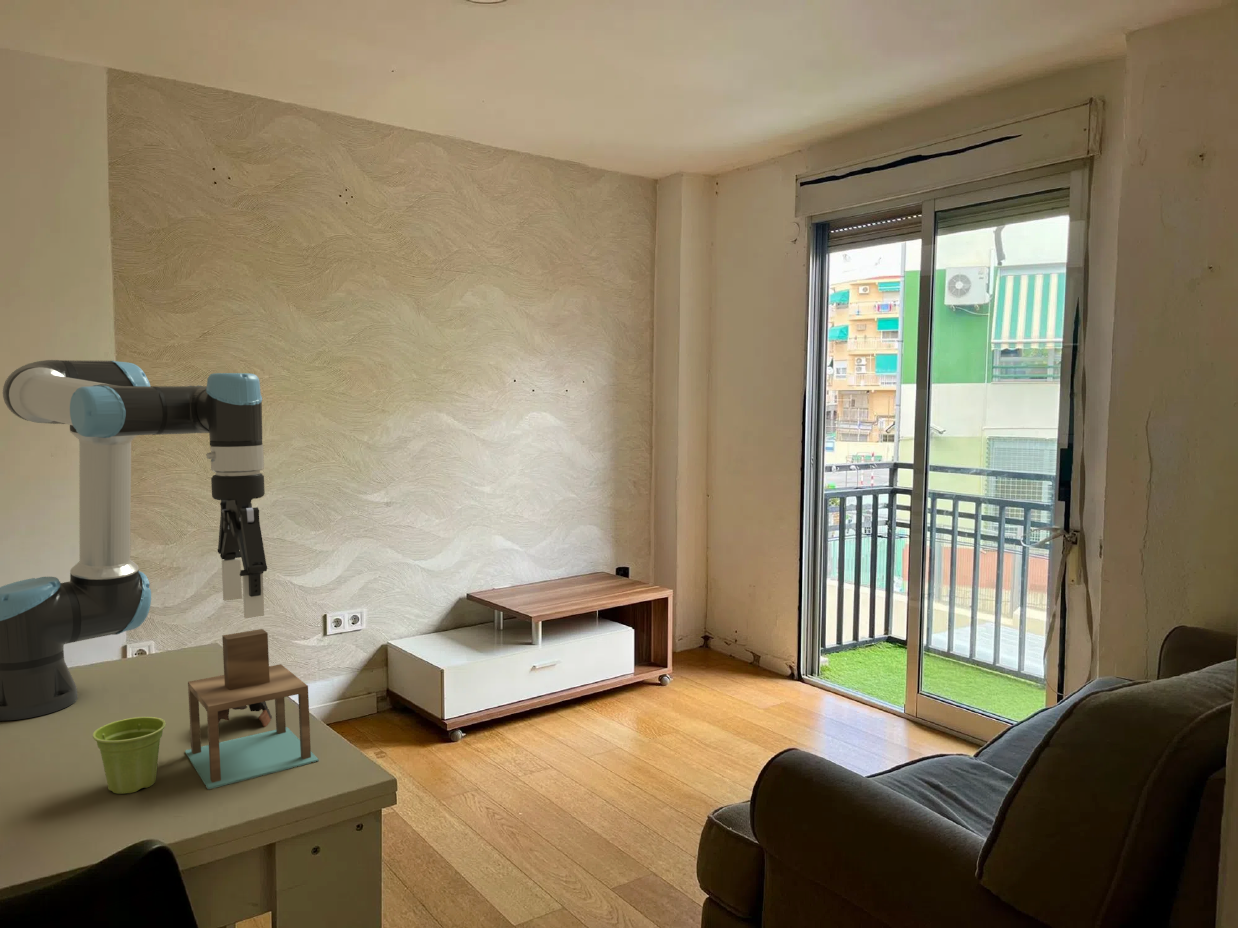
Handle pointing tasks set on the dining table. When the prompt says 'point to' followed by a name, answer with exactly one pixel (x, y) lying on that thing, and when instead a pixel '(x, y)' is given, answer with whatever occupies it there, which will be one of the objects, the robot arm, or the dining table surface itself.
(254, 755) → the teal mat
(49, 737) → the dining table surface
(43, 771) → the dining table surface
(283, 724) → the brown piece
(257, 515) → the robot arm
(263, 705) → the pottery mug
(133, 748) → the plant pot
